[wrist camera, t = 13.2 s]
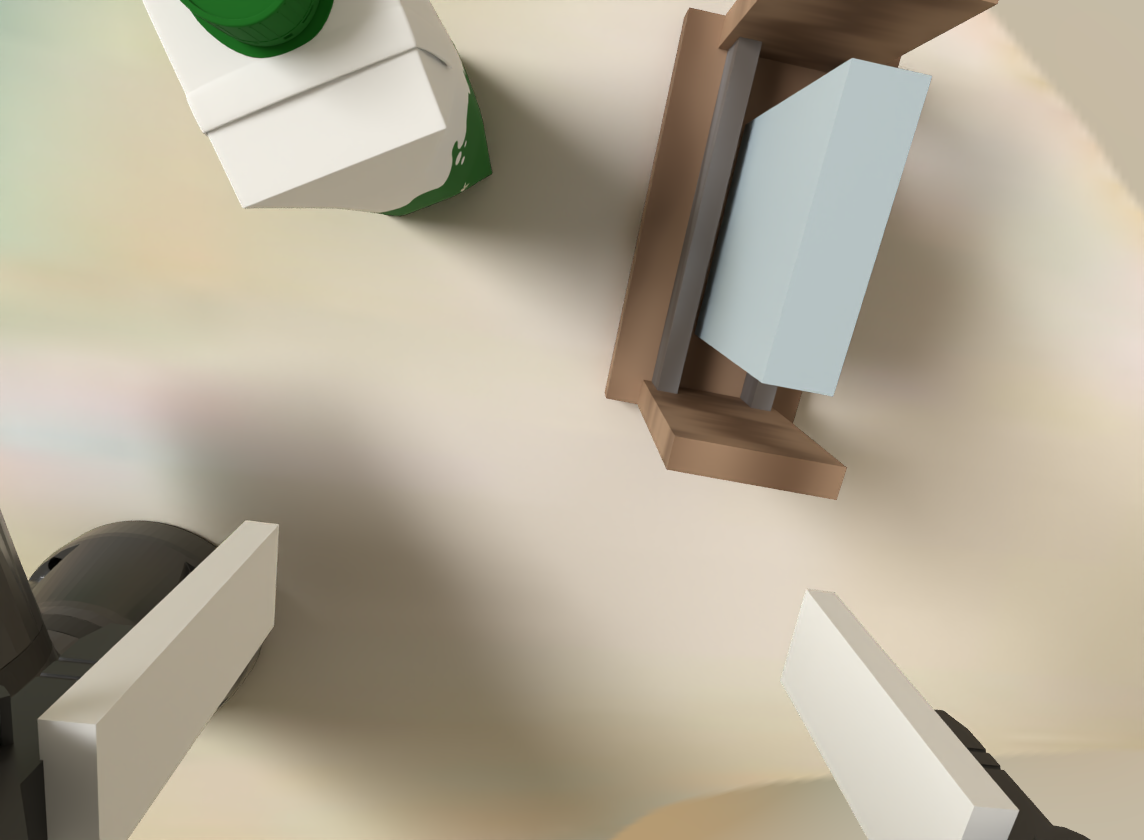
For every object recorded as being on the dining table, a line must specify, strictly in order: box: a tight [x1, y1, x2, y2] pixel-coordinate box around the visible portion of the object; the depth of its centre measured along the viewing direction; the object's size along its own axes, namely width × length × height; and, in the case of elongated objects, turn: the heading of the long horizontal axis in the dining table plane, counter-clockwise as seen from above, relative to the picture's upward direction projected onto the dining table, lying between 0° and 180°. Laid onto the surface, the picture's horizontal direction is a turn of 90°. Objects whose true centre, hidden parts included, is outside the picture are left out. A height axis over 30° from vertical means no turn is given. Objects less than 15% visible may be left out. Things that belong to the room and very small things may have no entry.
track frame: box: [605, 0, 998, 500], centre depth 33 cm, size 12×22×14 cm, turn 169°
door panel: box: [695, 58, 932, 396], centre depth 31 cm, size 3×12×14 cm, turn 169°
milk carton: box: [142, 0, 492, 216], centre depth 28 cm, size 9×9×20 cm
